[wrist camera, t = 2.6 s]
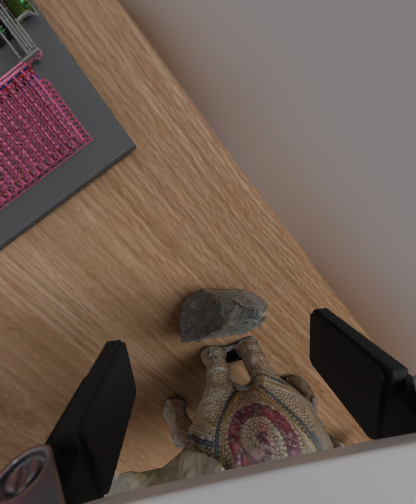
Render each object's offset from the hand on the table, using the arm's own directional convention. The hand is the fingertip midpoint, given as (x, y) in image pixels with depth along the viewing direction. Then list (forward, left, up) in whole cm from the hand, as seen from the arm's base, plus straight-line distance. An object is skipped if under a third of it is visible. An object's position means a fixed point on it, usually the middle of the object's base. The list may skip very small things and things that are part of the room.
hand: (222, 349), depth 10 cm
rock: (0, +1, -8) cm, 8 cm away
